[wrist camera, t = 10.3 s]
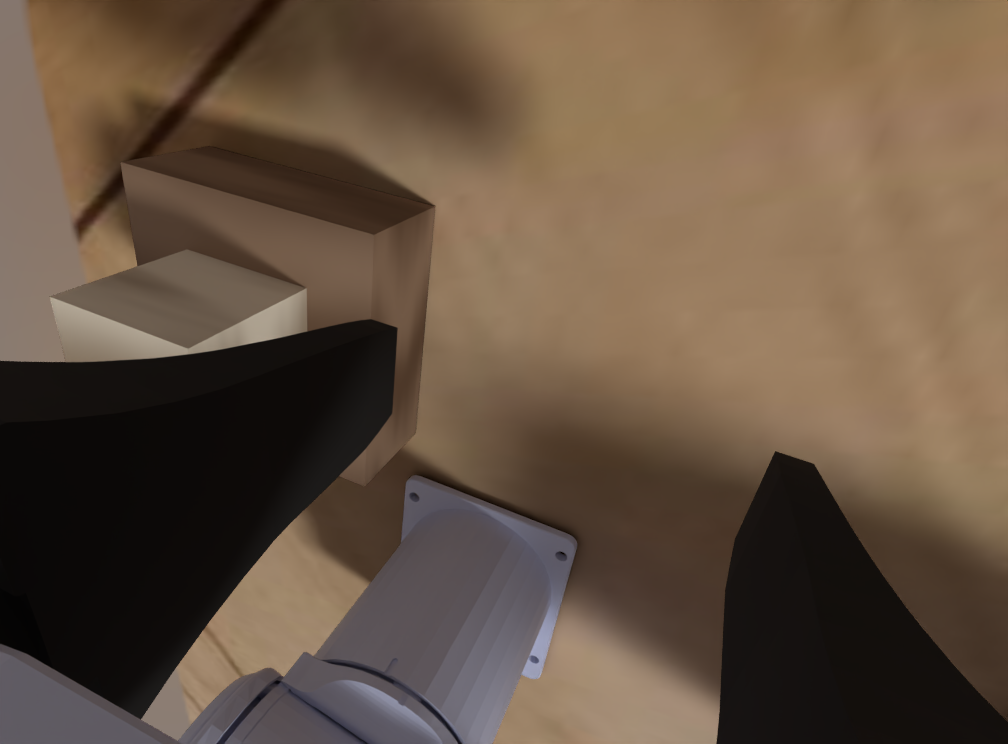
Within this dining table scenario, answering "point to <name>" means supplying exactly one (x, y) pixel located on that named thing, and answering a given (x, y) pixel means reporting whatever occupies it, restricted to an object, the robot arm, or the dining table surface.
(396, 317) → the walnut block
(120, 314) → the maple cube
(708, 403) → the dining table surface
